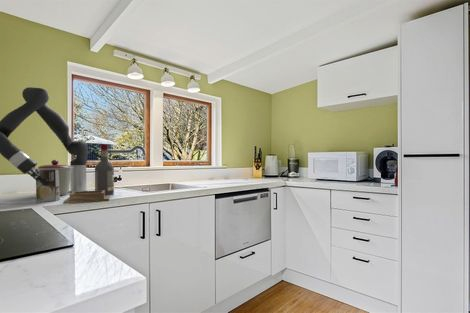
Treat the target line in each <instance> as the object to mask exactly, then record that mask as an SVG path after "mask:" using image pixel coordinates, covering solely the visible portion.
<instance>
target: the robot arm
mask: <svg viewBox="0 0 470 313" xmlns="http://www.w3.org/2000/svg"><path fill="white" fill-rule="evenodd" d="M21 95H22V99H23V100H24V101H25V103H24V104H22V105H20V106H19V107H17V108H15V109H13V110H11V111H10V112H9V113H7V114H6V115H5V116H4V117H3V118H1V119H0V155H1V156H2V157H3V158H4V159H6V160H7V161H8V162H9V163H10V164H11V165H13V167H15V169H17V170H19V171H20V172H21V173H22V174H24V175H25V174H27V175H29V176H30V177H32V178H33V179H34V180H35V182H36V181H40V182H41V183H42V184H44V185H45V186H47V185H48V184H49V182H48V181H47V180H46V179H44V178H43V177H42V174H41V173H40V172H39V171H36V170H40V169H39V168H38V167H37V164H38V163H37V161H35V160H34V159H33V158H32V157H30V156H29V155H28V154H26V153H25V152H23V151H22V150H21V149H20V148H18V147H17V146H16V145H15V144H14V143H12V142H11V140H10V139H9V137H10V135H11V134H12V133H13V132H15V130H16V129H17V128H18V127H19V126H20V125H21V124H22V123H23V122H24V121H25V120H26V119H28V118H29V117H30V116H31V115H32V114H33V113H35V112H36V113H37V114H38V116H39V117H40V118H41V119H42V121H44V122H45V123H46V125H47V126H48V127H49V129H50V130H51V131H52V132H53V133H54V134H55V135H56V137H57V138H58V140H59V141H60V142H61V143H62V145H63V147H64V148H65V150H66V151H67V152H68V154H70V155H72V156H76V157H75V158H74V159H72V160H70V162H69V163H70V164H69V166H71V167H73V168H72V169H71V177H70V185H69V191H70V193H72V192H77V191H87V162H88V154H89V152H88V151H89V150H88V148H89V147H88V144H87V142H86V141H83V140H77V141H76V140H73V138H72V137H71V135H69V133H70V126H69V124H68V122H67V121H66V120H65V119H64V118H63V116H62V115H61V114H60V113H58V112H57V111H55V110H54V109H52V108H51V107H50V106H48V104H47V103H48V102H49V100H50V93H49V92H48V91H47V90H46V89H44V88H40V87H32V86H31V87H30V86H29V87H26V88H24V89H23V90H22V94H21ZM37 168H38V169H37ZM38 173H39V174H38Z"/></svg>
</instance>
